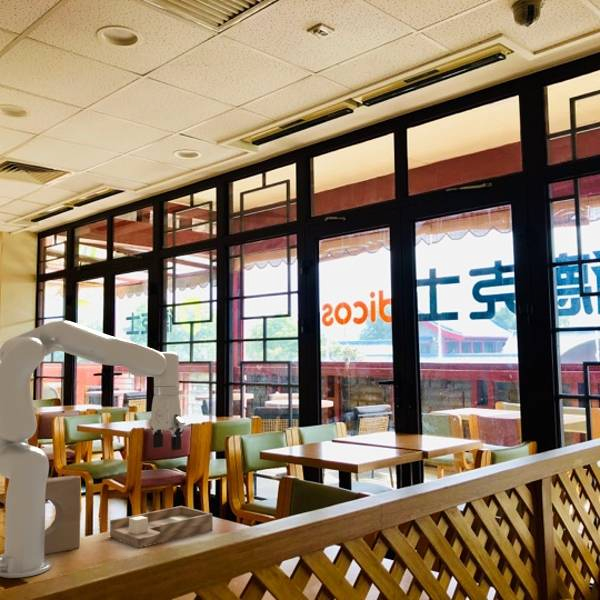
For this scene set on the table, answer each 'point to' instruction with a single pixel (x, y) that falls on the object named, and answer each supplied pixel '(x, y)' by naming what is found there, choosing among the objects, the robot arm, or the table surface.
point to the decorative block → (63, 514)
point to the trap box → (163, 526)
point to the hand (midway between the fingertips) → (167, 448)
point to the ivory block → (138, 524)
